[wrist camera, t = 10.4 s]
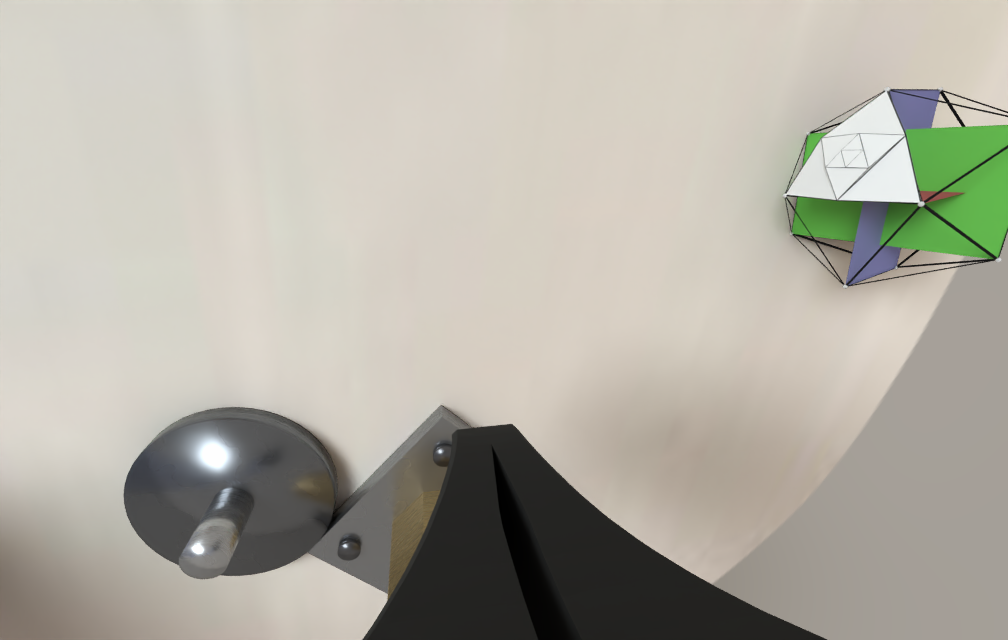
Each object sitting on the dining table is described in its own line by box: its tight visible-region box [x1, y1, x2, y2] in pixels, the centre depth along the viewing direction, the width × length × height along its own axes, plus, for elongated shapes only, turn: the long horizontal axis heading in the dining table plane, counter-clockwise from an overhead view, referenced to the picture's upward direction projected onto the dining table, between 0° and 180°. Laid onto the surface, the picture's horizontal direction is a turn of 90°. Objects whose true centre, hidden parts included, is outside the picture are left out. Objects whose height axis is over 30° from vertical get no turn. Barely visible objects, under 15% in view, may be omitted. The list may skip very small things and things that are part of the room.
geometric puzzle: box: [783, 87, 1008, 288], centre depth 17 cm, size 7×7×8 cm
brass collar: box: [388, 490, 440, 599], centre depth 20 cm, size 5×5×4 cm
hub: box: [308, 405, 472, 594], centre depth 21 cm, size 9×9×4 cm
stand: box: [124, 407, 338, 579], centre depth 19 cm, size 8×8×4 cm
